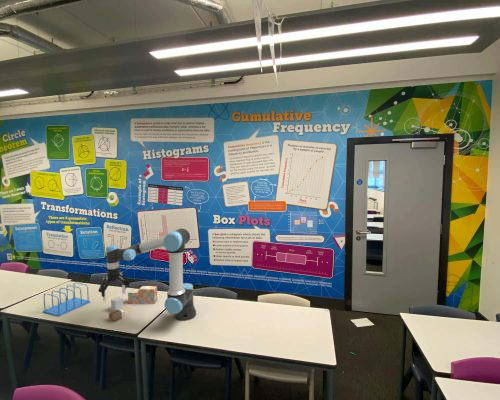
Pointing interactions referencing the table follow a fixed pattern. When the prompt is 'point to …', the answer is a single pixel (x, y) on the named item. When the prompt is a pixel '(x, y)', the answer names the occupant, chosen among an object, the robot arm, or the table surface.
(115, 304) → the grey block
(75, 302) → the file sorter
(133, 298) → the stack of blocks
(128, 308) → the envelope
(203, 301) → the table surface
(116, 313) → the walnut cube
